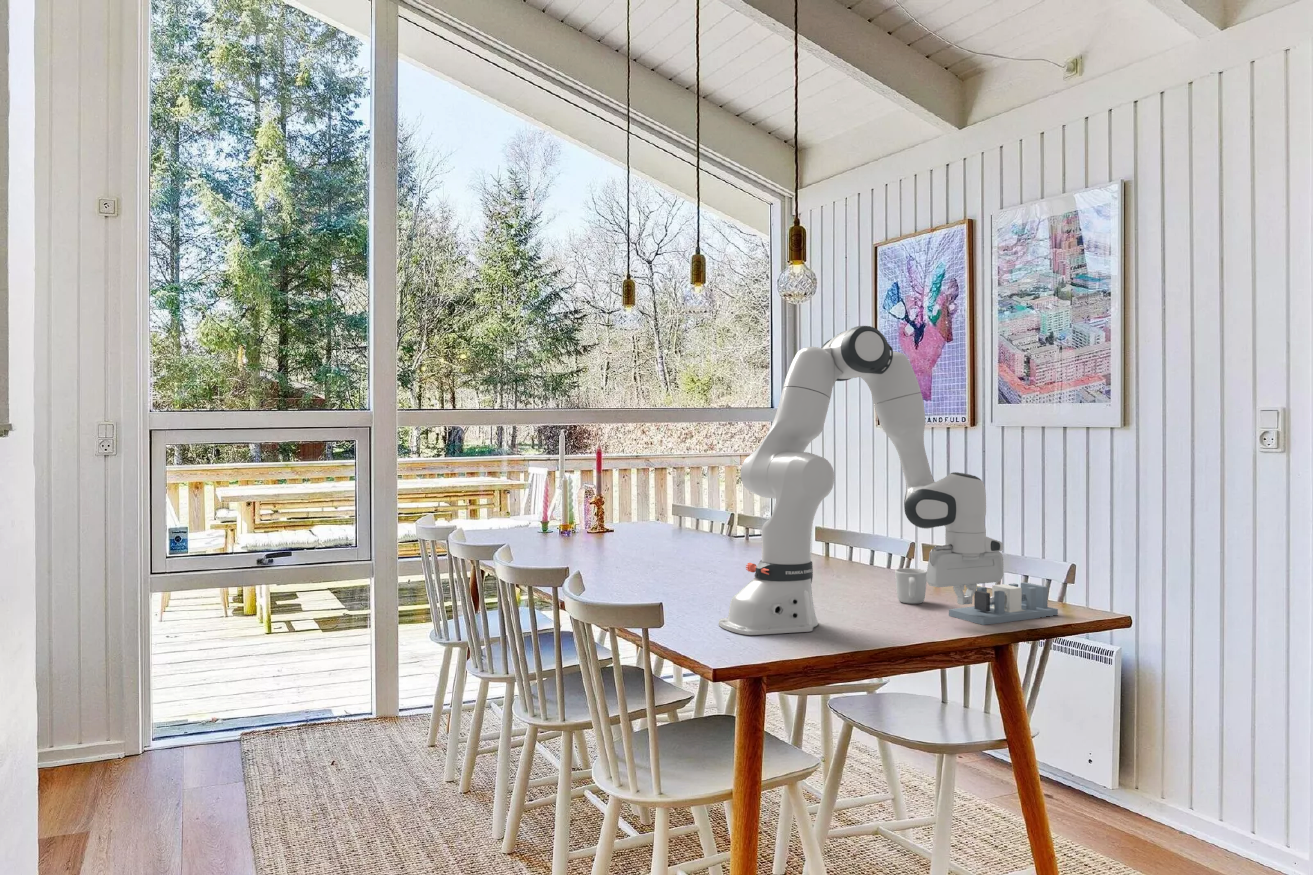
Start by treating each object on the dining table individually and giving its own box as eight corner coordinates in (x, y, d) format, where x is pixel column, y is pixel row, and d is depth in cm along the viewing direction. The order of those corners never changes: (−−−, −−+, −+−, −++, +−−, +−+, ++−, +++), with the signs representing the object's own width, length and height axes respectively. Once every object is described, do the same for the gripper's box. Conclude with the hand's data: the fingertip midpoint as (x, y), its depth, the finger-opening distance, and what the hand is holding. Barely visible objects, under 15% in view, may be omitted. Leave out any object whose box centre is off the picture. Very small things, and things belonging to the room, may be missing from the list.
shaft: (985, 611, 217) (985, 593, 217) (974, 608, 220) (974, 590, 220) (1029, 606, 223) (1029, 588, 223) (1018, 603, 226) (1018, 586, 226)
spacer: (1003, 605, 225) (1003, 584, 225) (1021, 610, 220) (1021, 587, 220) (992, 607, 224) (992, 585, 224) (1009, 611, 219) (1009, 589, 219)
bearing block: (983, 625, 212) (983, 596, 212) (948, 615, 222) (948, 588, 222) (1057, 615, 222) (1057, 587, 222) (1021, 607, 232) (1021, 580, 232)
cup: (929, 608, 231) (929, 575, 230) (895, 607, 232) (896, 574, 232) (926, 599, 241) (926, 568, 241) (893, 598, 243) (894, 567, 243)
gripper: (940, 547, 209) (939, 610, 209) (1008, 543, 218) (1007, 602, 218) (920, 544, 215) (919, 605, 215) (988, 539, 224) (987, 598, 224)
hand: (964, 603), depth 217 cm, fingers closed
